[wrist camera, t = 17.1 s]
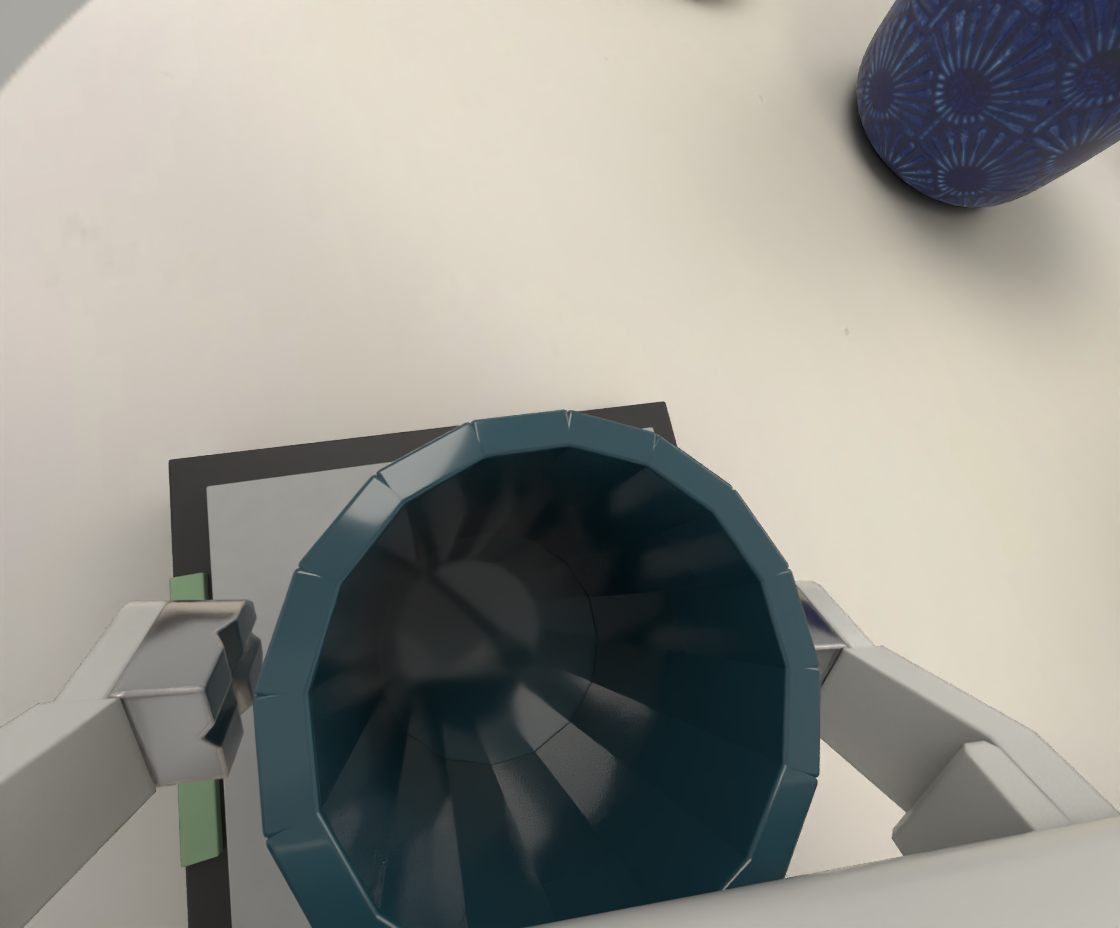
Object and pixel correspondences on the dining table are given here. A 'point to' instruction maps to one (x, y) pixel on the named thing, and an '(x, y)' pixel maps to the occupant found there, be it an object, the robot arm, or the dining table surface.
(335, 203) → the dining table surface
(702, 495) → the cup
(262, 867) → the scale
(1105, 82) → the planter
